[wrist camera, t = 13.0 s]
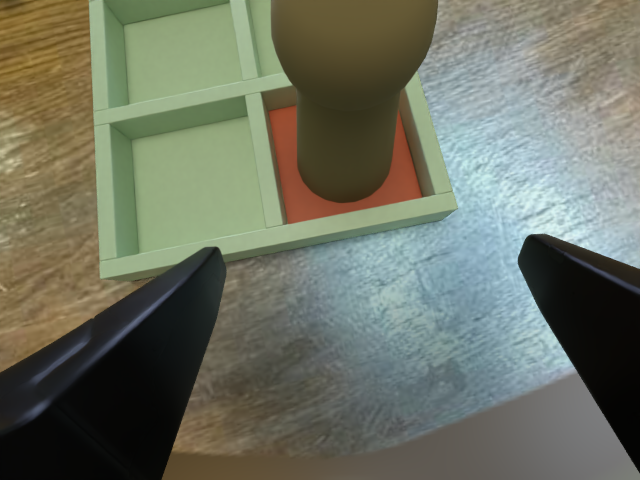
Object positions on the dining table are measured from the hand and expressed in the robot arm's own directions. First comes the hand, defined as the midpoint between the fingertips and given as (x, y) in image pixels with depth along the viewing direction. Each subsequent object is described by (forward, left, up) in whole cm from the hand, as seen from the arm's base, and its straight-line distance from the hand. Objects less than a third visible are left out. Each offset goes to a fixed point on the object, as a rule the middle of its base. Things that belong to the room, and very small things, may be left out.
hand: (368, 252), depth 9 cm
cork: (+7, -1, -9) cm, 11 cm away
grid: (+22, +4, -9) cm, 24 cm away
